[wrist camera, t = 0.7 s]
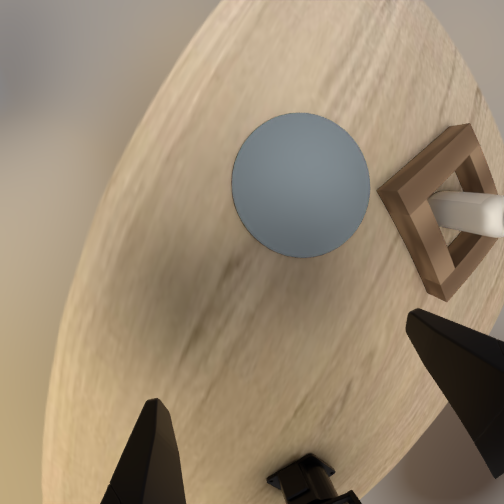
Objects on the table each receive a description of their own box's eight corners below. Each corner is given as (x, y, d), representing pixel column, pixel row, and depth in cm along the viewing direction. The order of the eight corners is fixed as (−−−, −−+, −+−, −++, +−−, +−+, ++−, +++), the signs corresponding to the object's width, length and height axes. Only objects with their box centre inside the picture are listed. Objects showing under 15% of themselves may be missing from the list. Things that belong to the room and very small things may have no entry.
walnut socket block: (487, 222, 27) (506, 225, 24) (427, 292, 27) (446, 302, 24) (449, 126, 24) (469, 123, 21) (376, 190, 24) (397, 191, 21)
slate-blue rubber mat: (388, 201, 24) (391, 201, 24) (289, 284, 24) (291, 286, 23) (316, 90, 21) (318, 88, 21) (200, 169, 21) (200, 168, 21)
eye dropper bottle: (432, 174, 24) (536, 177, 13) (464, 200, 26) (558, 213, 14) (418, 217, 25) (525, 237, 13) (452, 239, 26) (546, 265, 14)
